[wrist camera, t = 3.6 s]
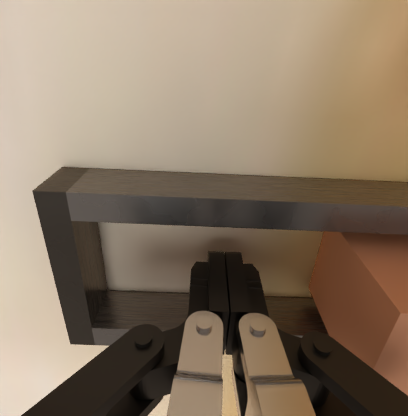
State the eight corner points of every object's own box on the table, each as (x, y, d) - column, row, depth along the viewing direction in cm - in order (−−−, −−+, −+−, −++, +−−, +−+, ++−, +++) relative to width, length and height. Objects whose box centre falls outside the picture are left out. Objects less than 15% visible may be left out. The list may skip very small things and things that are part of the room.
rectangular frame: (581, 189, 13) (657, 217, 11) (490, 320, 17) (532, 360, 15) (62, 167, 13) (32, 190, 11) (88, 305, 17) (70, 344, 15)
